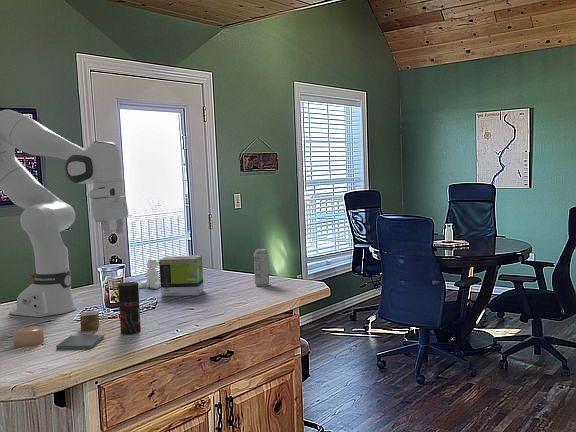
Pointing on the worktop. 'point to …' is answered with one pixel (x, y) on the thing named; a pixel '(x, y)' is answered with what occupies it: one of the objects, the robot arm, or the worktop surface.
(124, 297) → the deodorant
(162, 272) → the tea box
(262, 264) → the energy drink can
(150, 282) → the seated beast figurine
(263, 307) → the worktop surface
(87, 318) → the walnut block
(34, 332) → the soap bar
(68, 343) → the slate coaster
